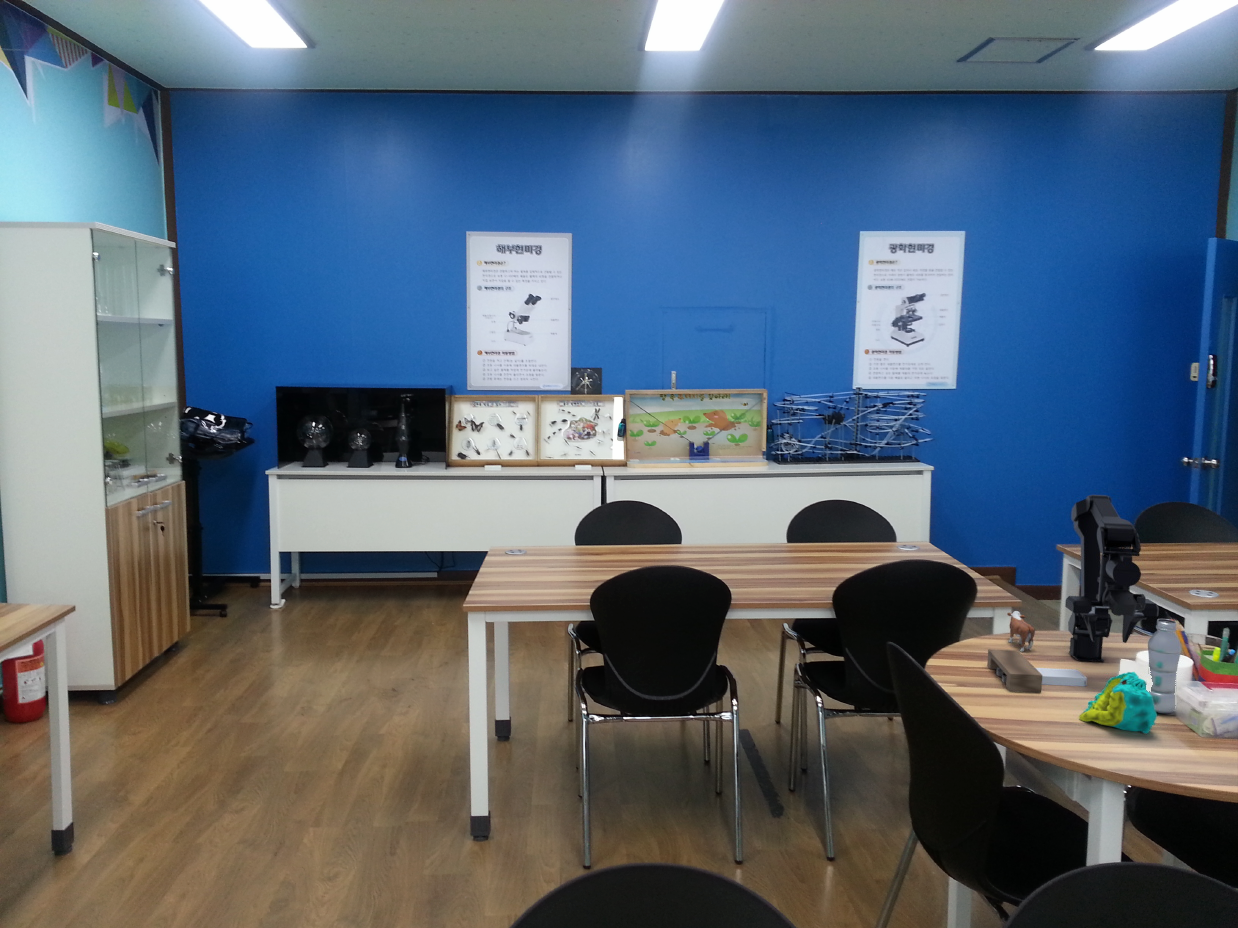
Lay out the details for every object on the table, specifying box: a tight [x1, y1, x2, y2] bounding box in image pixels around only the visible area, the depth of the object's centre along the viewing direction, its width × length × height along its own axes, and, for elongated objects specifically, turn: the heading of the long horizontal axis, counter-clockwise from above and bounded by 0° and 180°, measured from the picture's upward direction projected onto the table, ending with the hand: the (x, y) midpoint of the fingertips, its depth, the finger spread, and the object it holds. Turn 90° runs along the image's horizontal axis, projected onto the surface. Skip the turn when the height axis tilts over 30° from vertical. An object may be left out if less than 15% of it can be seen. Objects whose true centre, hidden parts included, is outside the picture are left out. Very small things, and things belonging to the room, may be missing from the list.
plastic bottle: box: [1147, 618, 1182, 714], centre depth 204 cm, size 6×7×20 cm
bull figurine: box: [1007, 610, 1036, 653], centre depth 250 cm, size 4×13×8 cm, turn 174°
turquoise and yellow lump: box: [1078, 671, 1158, 734], centre depth 197 cm, size 15×12×13 cm
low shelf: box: [987, 648, 1043, 694], centre depth 224 cm, size 7×18×4 cm, turn 174°
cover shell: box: [1035, 667, 1088, 687], centre depth 224 cm, size 11×6×2 cm, turn 84°
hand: (1108, 641), depth 221 cm, fingers open, 7 cm apart
